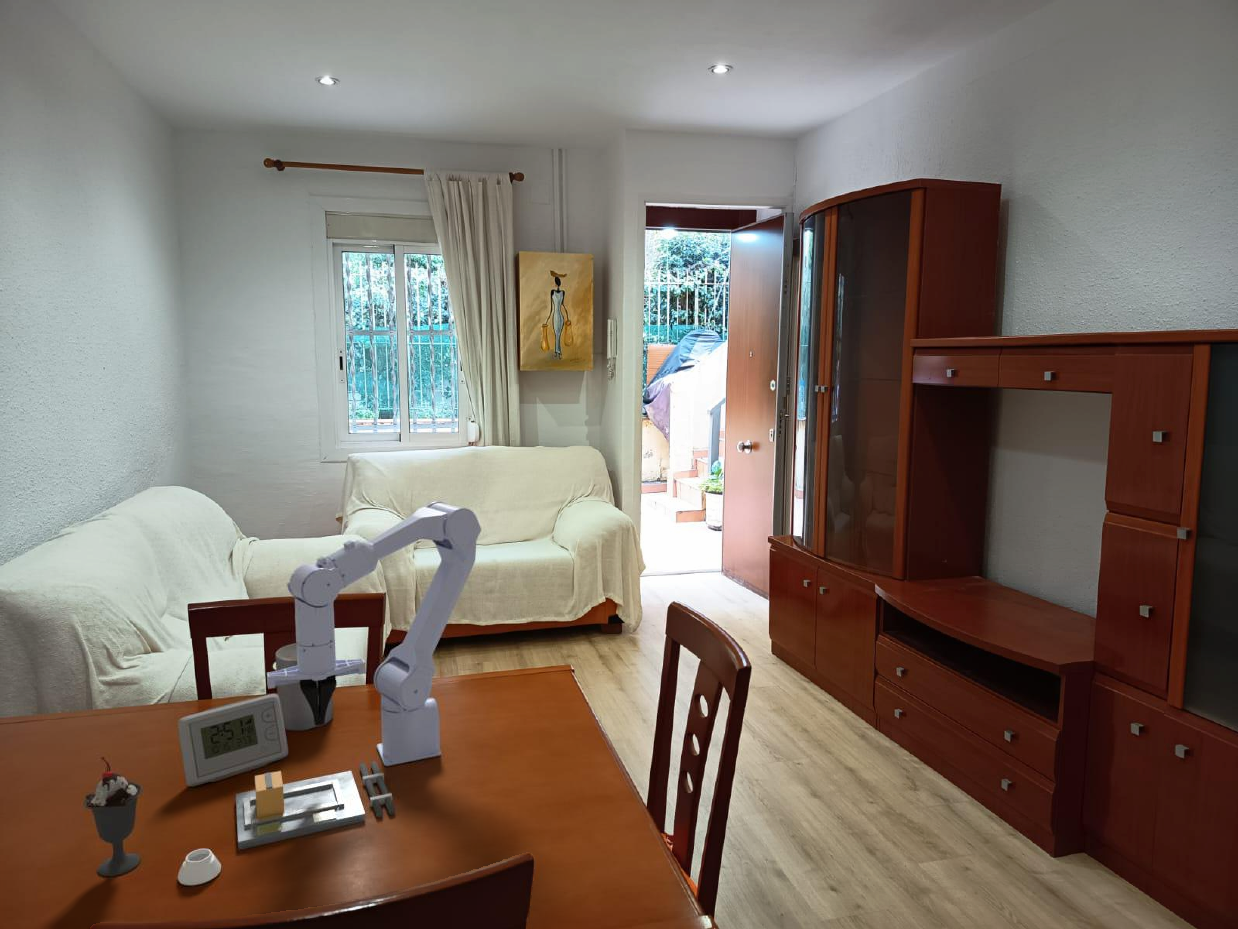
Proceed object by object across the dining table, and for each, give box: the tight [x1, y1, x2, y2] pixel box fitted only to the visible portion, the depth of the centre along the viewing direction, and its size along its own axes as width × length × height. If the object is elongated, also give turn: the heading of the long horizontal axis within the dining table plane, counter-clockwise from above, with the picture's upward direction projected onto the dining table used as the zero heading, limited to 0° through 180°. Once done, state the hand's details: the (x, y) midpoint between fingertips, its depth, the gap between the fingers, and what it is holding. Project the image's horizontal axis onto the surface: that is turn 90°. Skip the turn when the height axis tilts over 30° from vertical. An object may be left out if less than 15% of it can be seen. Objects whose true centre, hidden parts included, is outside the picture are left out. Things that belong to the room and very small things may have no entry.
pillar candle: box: [275, 642, 334, 732], centre depth 154 cm, size 10×10×15 cm
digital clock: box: [177, 693, 289, 787], centre depth 136 cm, size 16×9×11 cm, turn 121°
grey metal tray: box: [235, 770, 366, 851], centre depth 124 cm, size 17×14×2 cm
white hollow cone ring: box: [177, 848, 222, 886], centre depth 108 cm, size 5×3×5 cm
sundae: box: [83, 755, 144, 877], centre depth 109 cm, size 7×7×15 cm
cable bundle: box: [359, 760, 396, 819], centre depth 130 cm, size 3×16×1 cm, turn 26°
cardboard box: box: [254, 770, 284, 818], centre depth 122 cm, size 4×5×5 cm
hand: (319, 722), depth 131 cm, fingers closed
